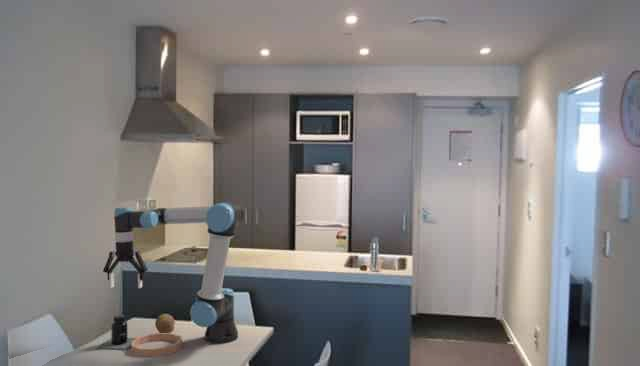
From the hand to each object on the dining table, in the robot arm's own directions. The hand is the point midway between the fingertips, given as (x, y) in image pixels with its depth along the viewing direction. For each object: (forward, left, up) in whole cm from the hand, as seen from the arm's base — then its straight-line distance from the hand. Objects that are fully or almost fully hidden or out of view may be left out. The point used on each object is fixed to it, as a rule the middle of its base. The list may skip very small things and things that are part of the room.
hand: (126, 287), depth 245 cm
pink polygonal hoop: (-17, +6, -25) cm, 31 cm away
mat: (+2, +4, -25) cm, 25 cm away
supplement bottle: (+2, +4, -24) cm, 25 cm away
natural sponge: (-13, -11, -25) cm, 30 cm away
